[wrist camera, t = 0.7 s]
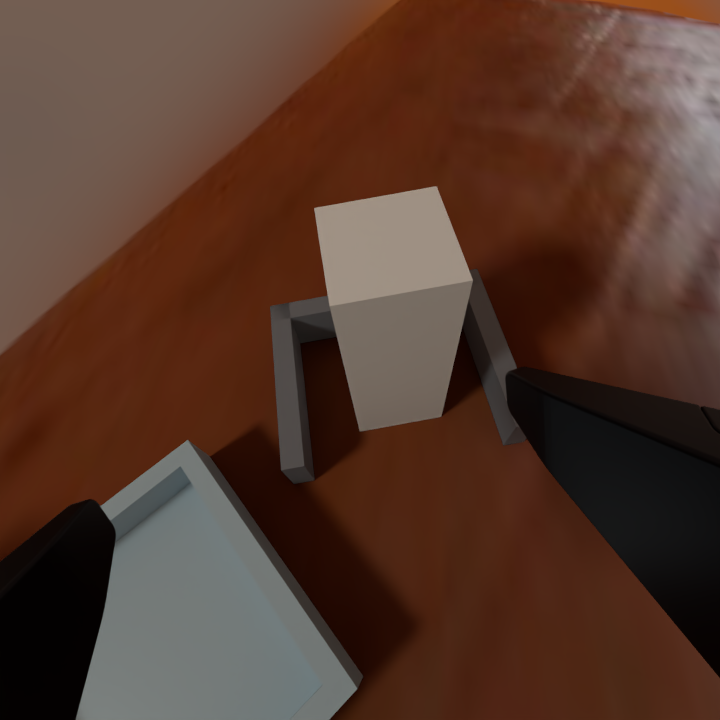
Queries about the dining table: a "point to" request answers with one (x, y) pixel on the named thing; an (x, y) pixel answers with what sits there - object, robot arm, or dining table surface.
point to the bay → (316, 324)
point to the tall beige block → (395, 302)
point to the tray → (206, 611)
